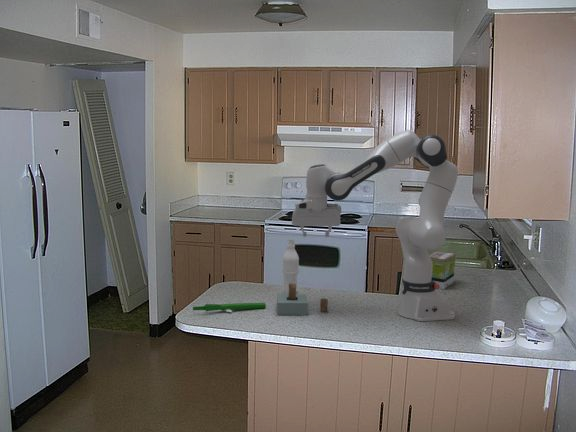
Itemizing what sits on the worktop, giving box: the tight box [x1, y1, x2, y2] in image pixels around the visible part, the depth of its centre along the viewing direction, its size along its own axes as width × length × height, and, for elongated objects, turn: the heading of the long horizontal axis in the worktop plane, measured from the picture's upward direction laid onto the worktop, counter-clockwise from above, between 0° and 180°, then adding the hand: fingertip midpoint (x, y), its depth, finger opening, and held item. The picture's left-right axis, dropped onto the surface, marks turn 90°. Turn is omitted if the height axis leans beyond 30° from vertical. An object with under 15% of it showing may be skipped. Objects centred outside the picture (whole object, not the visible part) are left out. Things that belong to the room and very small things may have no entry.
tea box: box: [429, 250, 456, 290], centre depth 288 cm, size 15×10×15 cm, turn 148°
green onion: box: [192, 302, 267, 313], centre depth 245 cm, size 5×3×30 cm
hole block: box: [276, 293, 309, 316], centre depth 247 cm, size 12×12×5 cm
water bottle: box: [281, 239, 300, 294], centre depth 265 cm, size 7×7×25 cm
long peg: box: [289, 283, 296, 300], centre depth 247 cm, size 3×3×11 cm
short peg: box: [319, 297, 329, 313], centre depth 247 cm, size 3×3×5 cm
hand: (315, 236), depth 253 cm, fingers open, 8 cm apart
